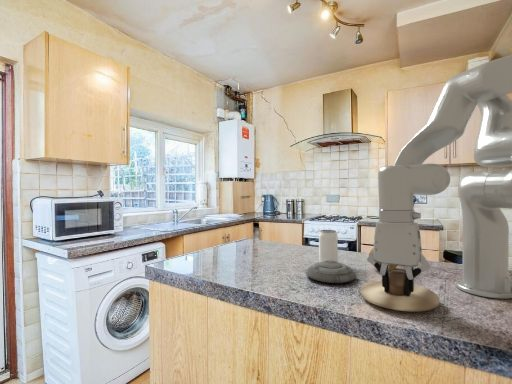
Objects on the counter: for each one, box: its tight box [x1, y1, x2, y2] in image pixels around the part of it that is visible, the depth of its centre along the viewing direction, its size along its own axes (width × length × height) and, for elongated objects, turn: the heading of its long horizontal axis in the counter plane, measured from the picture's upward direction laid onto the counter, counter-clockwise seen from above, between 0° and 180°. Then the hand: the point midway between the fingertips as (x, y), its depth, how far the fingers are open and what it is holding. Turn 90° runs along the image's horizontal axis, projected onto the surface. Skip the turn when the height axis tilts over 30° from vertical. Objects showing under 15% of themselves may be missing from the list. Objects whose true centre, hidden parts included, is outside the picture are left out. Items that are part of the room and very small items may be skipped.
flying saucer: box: [305, 260, 357, 284], centre depth 88 cm, size 15×15×6 cm
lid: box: [359, 269, 440, 312], centre depth 70 cm, size 17×17×6 cm
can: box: [318, 229, 339, 262], centre depth 104 cm, size 6×6×12 cm
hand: (397, 291), depth 70 cm, fingers closed on lid, 4 cm apart
